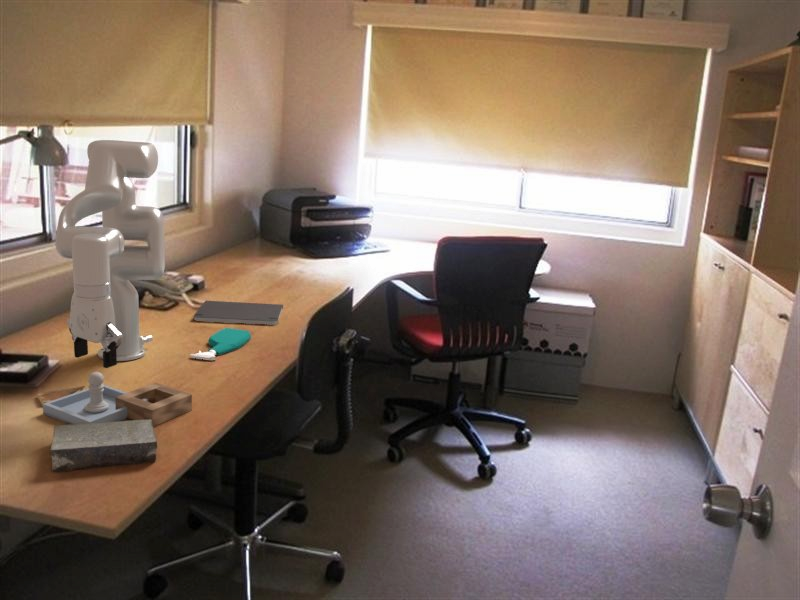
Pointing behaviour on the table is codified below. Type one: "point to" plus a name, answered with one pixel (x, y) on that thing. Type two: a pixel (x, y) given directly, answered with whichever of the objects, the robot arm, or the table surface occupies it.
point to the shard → (57, 394)
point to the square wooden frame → (155, 403)
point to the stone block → (102, 445)
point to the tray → (74, 412)
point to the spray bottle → (224, 343)
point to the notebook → (239, 312)
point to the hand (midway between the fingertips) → (95, 361)
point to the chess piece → (96, 394)
